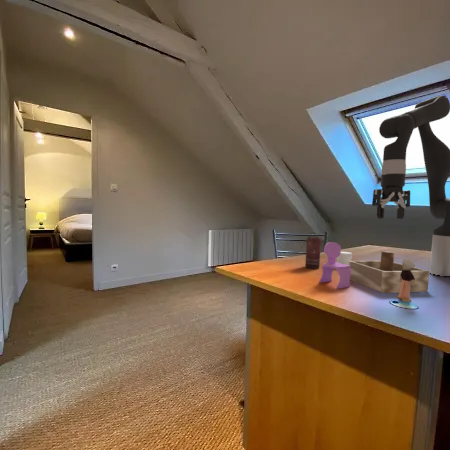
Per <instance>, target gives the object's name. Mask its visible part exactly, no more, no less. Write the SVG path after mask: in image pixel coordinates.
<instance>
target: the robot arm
mask: <svg viewBox="0 0 450 450" xmlns="http://www.w3.org/2000/svg"><path fill="white" fill-rule="evenodd" d="M449 114H450V100H449V98H448V97H447V96H445V95H436V96H434V97H430V98H427V99H426V100H423V101H419V102H418V103H416V104H415V106H414V108H413V109H410V110H408V111H405V112H403V113H401V114H399V115H394V116H391V117H388V118H385V119H384V120H383V121H381V122H380V125H379V129H378V130H379V135H380V136H381V137H383V138H384V139H393V138H395V139H396V140H394V141H393V142H392V143H389V144H386V145H385V146H384V148H383V156H382V165H381V174H380V175H381V176H380V187H381V189H380V188H376V189H375V188H374V190H373V194H372V202H371V203H372V204H371V206H372V207H375V208H376V217H377V219H380V220H381V219H384V218H385V206H386V204H387V205H388V203H389V202H391V203H394V204H395V205H396V207H397V210H396V219H398V220H403V219H404V217H405V209H406V208H409V207H411V190H409V189H407V190H404V187H405V184H406V173H407V172H406V171H407V163H406V162H407V161H406V160H407V148H408V145H409V142H410V139H411V136H412V134H413V132H414V130H415V129H416V128H417V129H418V133H419V137H420V142H421V147H422V153H423V161H424V167H425V168H424V169H425V172H426V176H427V177H426V178H427V185H428V198H429V200H428V201H429V211H430V214H431V216H432V217H433V218H435V220H443V223H442V224H441V225H439V226H437V227H434V228H433V229H432V239H431V241H432V242H431V253H430V261H429V262H430V264H429V272H430V273H431V274H430V273H429V274H430V275H433V274H435V275H434V276H437V275H440V276H439V277H443V276H450V198H449V197H448V198H447V195H446V184H447V181H448V179H449V177H450V147H448V145H446V143H444V142H443V141H442V140H441V139H440V138H439V137H438V136H436V135H435V133H434V132H433V130H432V127H431V124H430V123H433V122H435V121H439V120H441V119H445V118H446V117H447V116H448V115H449Z"/></svg>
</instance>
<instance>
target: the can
mask: <svg viewBox="0 0 450 450" xmlns="http://www.w3.org/2000/svg"><path fill="white" fill-rule="evenodd" d="M322 241H323V240H322V238H321V237H319V236H307V238H306V247H305V248H306V249H305V264H304V265H305V268H307V269H310V270H311V269H313V270H318V269H319V268H320V265H321V262H320V261H321V249H322V248H321V247H322Z"/></svg>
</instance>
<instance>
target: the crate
mask: <svg viewBox="0 0 450 450" xmlns="http://www.w3.org/2000/svg"><path fill="white" fill-rule="evenodd" d="M380 265H381V260H351V261H349V266H351V267H350V268H351V275H350V281H352V282H354V283H357V284H360V285H362V286H364V287H367V288H369V289H371V290H374V291H376V292H377V291H378V292H380V293H382V294H391V293H392V294H393V293H395V294H396V293H399V290H400V286H401V282H402V281H401V280H400V275H401V272H402V271H403V270H404V269H403V268H402V265H403V263H400V262H396V261H394V262H393V271H382V270H380ZM410 271H411V272H412V274H413V276H414V278H415V286H412V285H411V283H410V293H415V292H416V293H418V292H419V293H420V292H428V291H429V279H430V273H429V272H430V270H427V269H422V268H418V267H416V266H415V267H413V268H412V269H411V270H410Z"/></svg>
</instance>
